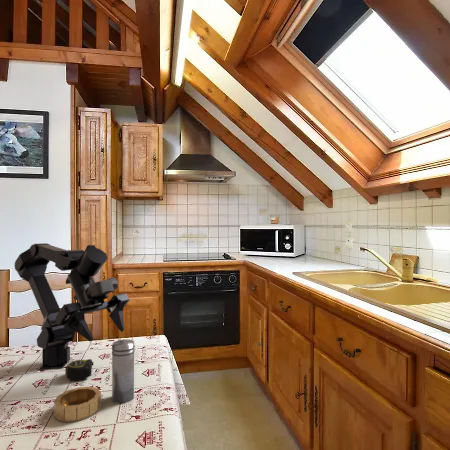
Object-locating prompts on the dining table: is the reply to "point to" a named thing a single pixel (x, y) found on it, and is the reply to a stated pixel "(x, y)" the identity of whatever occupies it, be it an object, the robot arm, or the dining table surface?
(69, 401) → the ring collar
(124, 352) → the grey metal cylinder
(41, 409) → the dining table surface
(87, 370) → the tape measure
